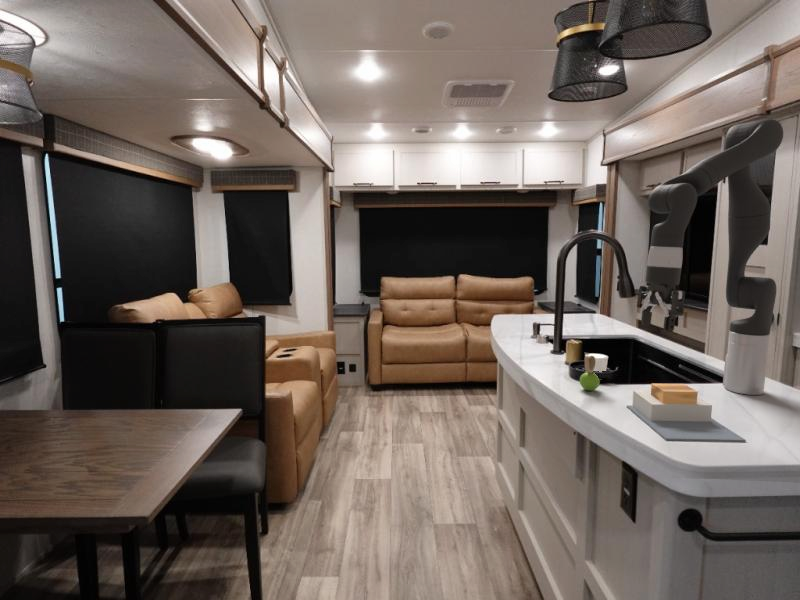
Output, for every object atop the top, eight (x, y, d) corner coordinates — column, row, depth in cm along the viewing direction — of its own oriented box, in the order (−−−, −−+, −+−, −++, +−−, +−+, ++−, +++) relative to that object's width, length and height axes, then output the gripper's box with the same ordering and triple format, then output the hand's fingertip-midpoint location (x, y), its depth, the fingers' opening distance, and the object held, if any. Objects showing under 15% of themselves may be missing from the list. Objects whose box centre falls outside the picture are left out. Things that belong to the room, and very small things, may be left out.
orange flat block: (650, 394, 116) (651, 383, 116) (683, 395, 115) (683, 383, 115) (662, 403, 110) (663, 391, 110) (696, 403, 109) (697, 391, 109)
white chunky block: (580, 373, 150) (581, 353, 149) (600, 373, 150) (601, 352, 149) (590, 380, 143) (591, 358, 142) (611, 379, 143) (612, 357, 142)
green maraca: (575, 391, 133) (576, 351, 131) (583, 385, 137) (585, 347, 136) (593, 395, 129) (595, 354, 127) (601, 389, 134) (603, 350, 132)
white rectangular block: (632, 407, 120) (633, 390, 119) (687, 407, 119) (688, 391, 118) (650, 422, 110) (651, 404, 109) (710, 423, 109) (712, 405, 108)
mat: (626, 406, 120) (626, 405, 120) (693, 407, 119) (693, 406, 119) (665, 440, 100) (665, 438, 100) (745, 441, 99) (745, 440, 99)
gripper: (699, 267, 107) (690, 334, 109) (658, 264, 121) (651, 324, 123) (670, 266, 106) (661, 333, 108) (632, 263, 120) (625, 323, 122)
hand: (656, 328), depth 115 cm, fingers open, 8 cm apart
